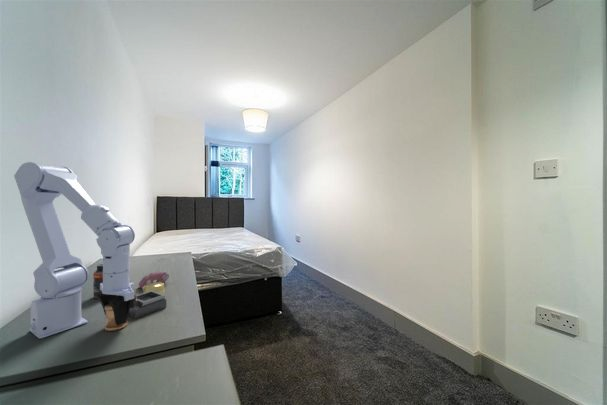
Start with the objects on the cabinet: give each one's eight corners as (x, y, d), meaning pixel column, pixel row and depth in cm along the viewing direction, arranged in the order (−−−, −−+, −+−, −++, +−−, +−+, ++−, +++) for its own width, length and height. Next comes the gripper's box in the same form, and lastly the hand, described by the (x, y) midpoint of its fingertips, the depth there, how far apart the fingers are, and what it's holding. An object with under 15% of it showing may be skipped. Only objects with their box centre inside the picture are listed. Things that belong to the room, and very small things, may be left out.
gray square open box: (135, 318, 71) (135, 302, 71) (120, 311, 75) (120, 296, 75) (166, 307, 78) (166, 292, 78) (150, 301, 83) (150, 287, 83)
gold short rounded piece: (149, 301, 83) (149, 289, 83) (139, 297, 86) (139, 286, 86) (168, 295, 88) (168, 284, 88) (158, 291, 92) (158, 281, 92)
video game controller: (141, 293, 94) (144, 279, 92) (137, 286, 96) (140, 271, 94) (168, 286, 101) (171, 272, 99) (163, 279, 104) (167, 266, 102)
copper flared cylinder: (109, 333, 63) (109, 309, 63) (101, 327, 65) (101, 305, 65) (131, 324, 67) (131, 302, 67) (122, 320, 69) (122, 299, 69)
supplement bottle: (119, 293, 90) (119, 262, 90) (104, 299, 84) (104, 266, 84) (104, 292, 90) (104, 262, 90) (88, 299, 84) (88, 266, 84)
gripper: (146, 271, 66) (146, 321, 66) (120, 263, 73) (120, 309, 73) (116, 278, 60) (116, 333, 60) (90, 269, 67) (90, 318, 67)
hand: (116, 320), depth 66 cm, fingers closed on copper flared cylinder, 5 cm apart
